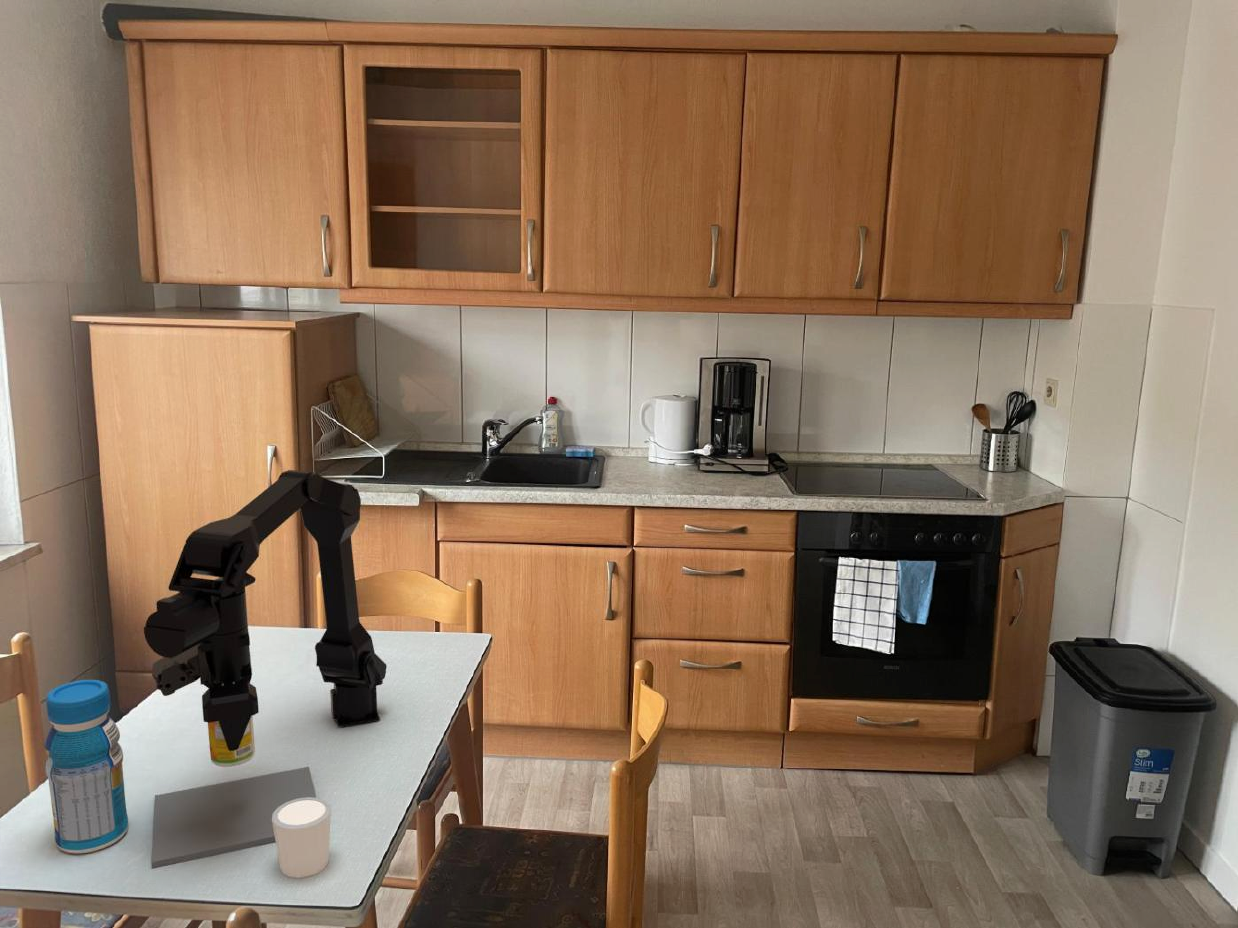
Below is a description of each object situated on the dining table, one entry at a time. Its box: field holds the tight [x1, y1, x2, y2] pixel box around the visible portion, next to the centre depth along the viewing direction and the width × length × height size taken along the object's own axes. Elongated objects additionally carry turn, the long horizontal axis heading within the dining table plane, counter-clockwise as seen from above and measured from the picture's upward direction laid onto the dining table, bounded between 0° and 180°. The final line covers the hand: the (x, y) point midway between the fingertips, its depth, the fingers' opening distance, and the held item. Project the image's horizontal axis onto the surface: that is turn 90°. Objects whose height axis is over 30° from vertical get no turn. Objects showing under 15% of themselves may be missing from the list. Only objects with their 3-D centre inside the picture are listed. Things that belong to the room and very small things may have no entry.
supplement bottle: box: [207, 682, 256, 768], centre depth 124 cm, size 5×5×10 cm
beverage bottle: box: [44, 679, 129, 854], centre depth 119 cm, size 8×8×20 cm
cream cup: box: [272, 797, 332, 879], centre depth 116 cm, size 7×7×7 cm
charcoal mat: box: [150, 766, 318, 869], centre depth 126 cm, size 20×16×1 cm
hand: (232, 739), depth 124 cm, fingers closed on supplement bottle, 5 cm apart
